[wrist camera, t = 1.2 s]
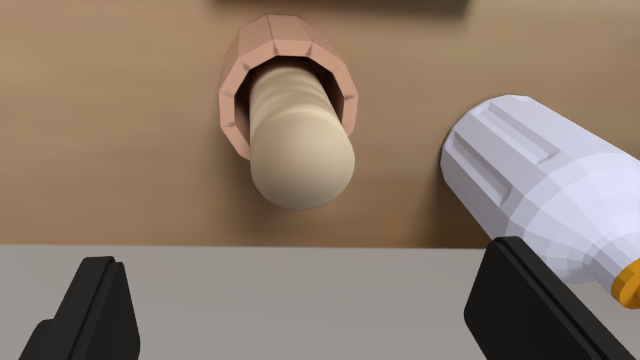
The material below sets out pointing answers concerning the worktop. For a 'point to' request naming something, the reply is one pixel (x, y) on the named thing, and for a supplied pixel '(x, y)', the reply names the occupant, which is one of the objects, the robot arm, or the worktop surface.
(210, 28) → the worktop surface
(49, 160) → the worktop surface
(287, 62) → the dowel
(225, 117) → the cup
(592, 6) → the worktop surface
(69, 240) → the worktop surface
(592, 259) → the soap bottle
